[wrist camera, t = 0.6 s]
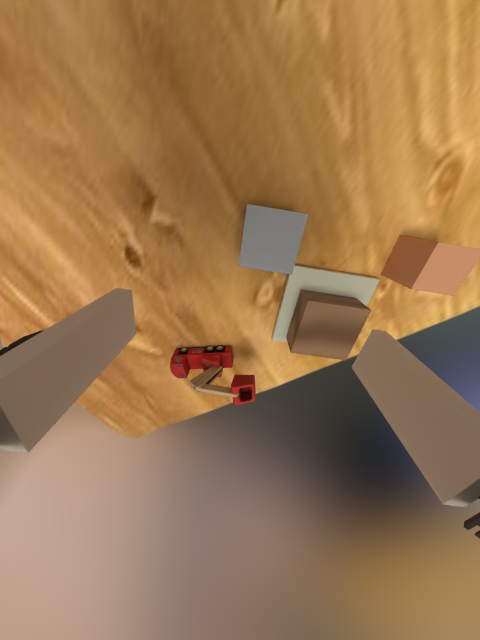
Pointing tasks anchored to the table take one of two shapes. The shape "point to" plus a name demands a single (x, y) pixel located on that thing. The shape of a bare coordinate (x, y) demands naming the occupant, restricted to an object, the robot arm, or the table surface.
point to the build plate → (323, 283)
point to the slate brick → (271, 239)
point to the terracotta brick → (430, 265)
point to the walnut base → (325, 324)
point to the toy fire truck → (212, 372)
